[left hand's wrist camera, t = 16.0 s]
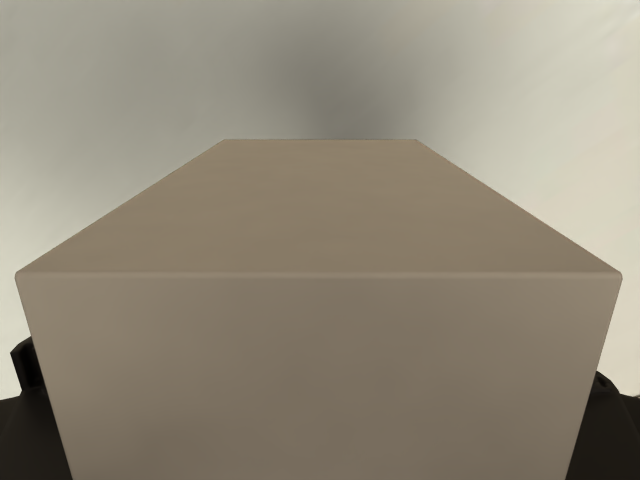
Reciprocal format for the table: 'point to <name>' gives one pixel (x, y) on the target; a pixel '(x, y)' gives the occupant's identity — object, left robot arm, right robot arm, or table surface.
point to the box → (318, 323)
